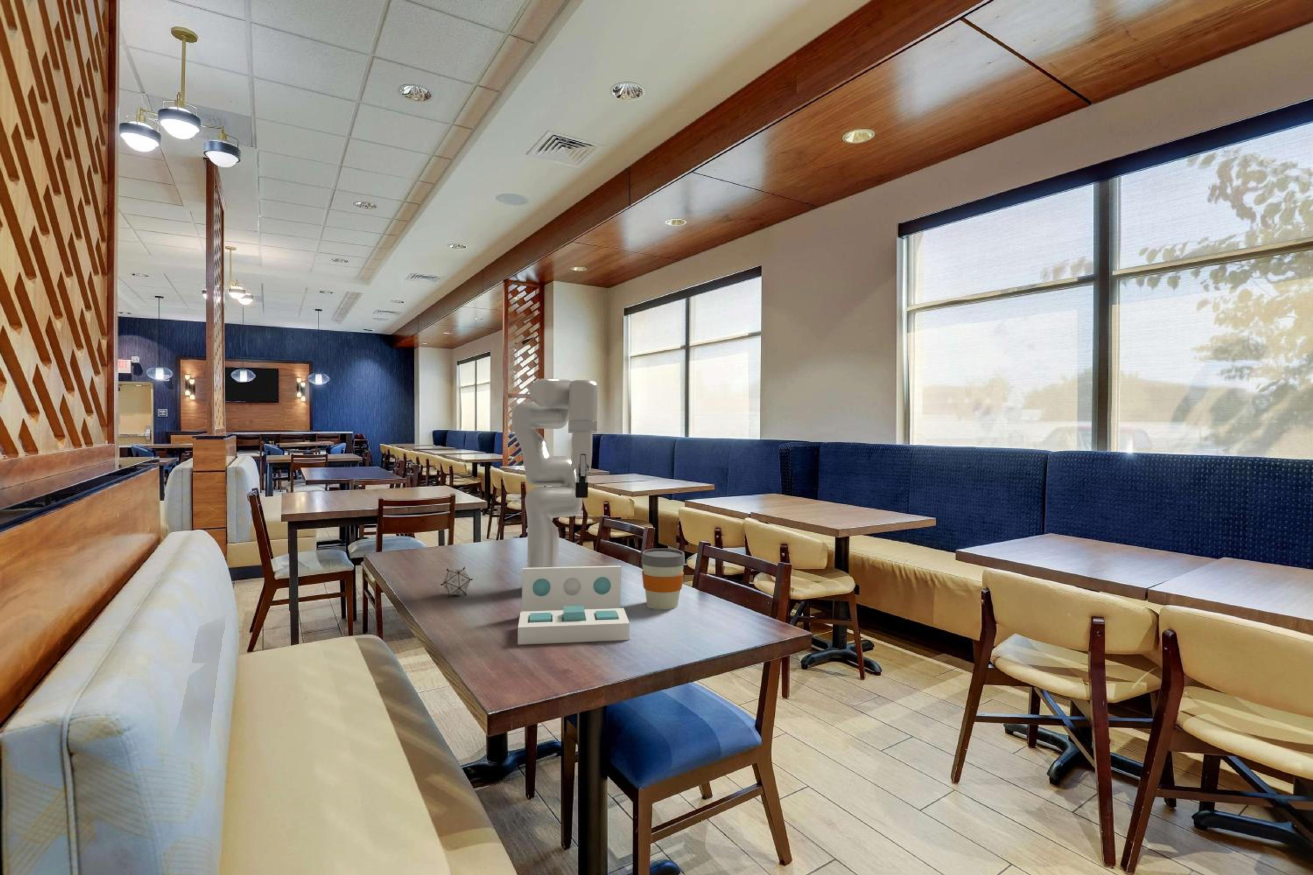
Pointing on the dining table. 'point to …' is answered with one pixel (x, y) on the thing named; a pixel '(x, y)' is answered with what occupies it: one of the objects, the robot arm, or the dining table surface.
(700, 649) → the dining table surface
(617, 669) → the dining table surface
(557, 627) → the button board
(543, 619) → the button
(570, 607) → the button
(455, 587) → the grey geometric polyhedron ornament
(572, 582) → the pattern sign
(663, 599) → the reusable coffee cup
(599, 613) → the button
